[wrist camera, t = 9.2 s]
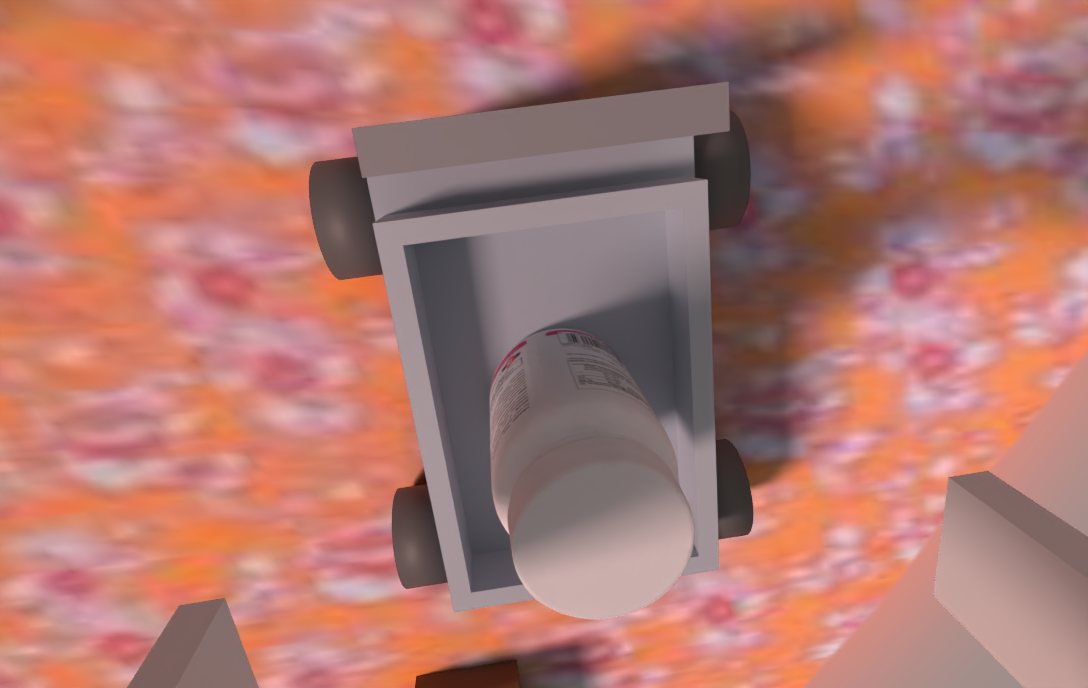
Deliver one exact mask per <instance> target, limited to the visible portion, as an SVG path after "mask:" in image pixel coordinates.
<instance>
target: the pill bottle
mask: <svg viewBox="0 0 1088 688" xmlns="http://www.w3.org/2000/svg"><path fill="white" fill-rule="evenodd" d="M490 450H491V486H492V494H493V500H494V504H495V508H496V512H497V515H498V517H499V519H500V521H501V523H502V525H503V526H504V528H505V530H506V531H507V532H508V534H509V536H510V542H511V551H512V557H513V562H514V566H515V569H516V572H517V574H518V576H519V578H520V580H521V582H522V583H523V585H524V586H525V588H526V589H527V590H528V591H529V593H530V594H531V595H532V596H533V597H534V598H535V599H536V600H537V601H539V602H540V603H542V604H543V605H545V606H547V607H548V608H550V609H552V610H554V611H557V612H559V613H562V614H565V615H568V616H573V617H577V618H584V619H608V618H615V617H619V616H623V615H627V614H629V613H632V612H635V611H638V610H640V609H642V608H644V607H646V606H648V605H650V604H651V603H653V602H655V601H656V600H657V599H659V598H660V597H661V596H663V595H664V594H665V593H666V592H667V591H668V590H669V589H670V588H671V587H672V586H673V585H674V584H675V583H676V582H677V580H678V579H679V578H680V576H681V575H682V573H683V571H684V570H685V568H686V566H687V564H688V562H689V560H690V557H691V554H692V551H693V546H694V539H695V526H694V520H693V515H692V511H691V508H690V506H689V503H688V501H687V499H686V497H685V495H684V493H683V491H682V489H681V487H680V485H679V483H678V466H677V459H676V455H675V451H674V449H673V446H672V444H671V442H670V439H669V437H668V435H667V433H666V431H665V430H664V428H663V426H662V425H661V423H660V422H659V420H658V418H657V417H656V415H655V414H654V412H653V410H652V409H651V407H650V405H649V404H648V402H647V401H646V399H645V397H644V396H643V394H642V393H641V391H640V389H639V388H638V386H637V384H636V383H635V381H634V380H633V378H632V377H631V375H630V373H629V372H628V370H627V369H626V367H625V365H624V364H623V362H622V360H621V359H620V358H619V357H618V355H617V354H616V353H615V352H614V351H613V350H612V349H611V348H610V347H609V346H608V345H607V344H606V343H605V342H603V341H602V340H600V339H599V338H597V337H595V336H593V335H591V334H589V333H587V332H584V331H580V330H576V329H567V328H559V329H550V330H546V331H542V332H538V333H536V334H533V335H531V336H529V337H527V338H525V339H523V340H522V341H520V342H519V343H517V344H516V345H515V346H514V347H513V348H512V349H511V350H510V351H509V352H508V353H507V354H506V355H505V357H504V358H503V359H502V361H501V362H500V364H499V366H498V367H497V369H496V371H495V374H494V377H493V380H492V384H491V389H490Z"/></svg>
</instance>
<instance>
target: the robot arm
mask: <svg viewBox="0 0 1088 688" xmlns="http://www.w3.org/2000/svg"><path fill="white" fill-rule="evenodd" d="M933 596H934V597H935V598H936V599H937V600H938V601H939V602H940V603H941V604H942V605H943V606H944V607H945V608H946V609H947V610H948V611H949V612H950V613H951V614H952V615H953V616H954V617H955V618H956V619H957V620H958V621H959V622H960V623H961V624H962V625H963V626H964V627H965V628H966V629H967V630H968V631H969V632H970V633H971V634H972V635H973V636H974V637H975V638H976V639H977V640H978V641H979V642H980V643H981V644H982V645H983V646H984V647H985V648H986V649H987V650H988V651H989V652H990V653H991V654H992V655H993V656H994V657H995V659H996V660H997V661H999V663H1000V664H1001V665H1003V667H1004V668H1006V670H1007V671H1008V672H1009V673H1010V674H1011V675H1012V676H1013V677H1014V678H1015V679H1016V680H1017V681H1018V682H1019V683H1020V684H1021V685H1022V686H1023V687H1024V688H1088V537H1087V536H1086V535H1084V534H1083V533H1081V532H1080V531H1078V530H1077V529H1075V528H1074V527H1072V526H1070V525H1069V524H1067V523H1066V522H1064V521H1063V520H1062V519H1060V518H1059V517H1057V516H1055V515H1054V514H1052V513H1051V512H1049V511H1048V510H1046V509H1045V508H1043V507H1042V506H1040V505H1039V504H1037V503H1035V502H1034V501H1033V500H1031V499H1030V498H1028V497H1026V496H1025V495H1023V494H1022V493H1021V492H1019V491H1018V490H1016V489H1014V488H1013V487H1012V486H1010V485H1009V484H1007V483H1005V482H1004V481H1002V480H1001V479H999V478H998V477H996V476H995V475H993V474H992V473H990V472H989V471H984V472H978V473H972V474H966V475H960V476H954V477H949V479H948V487H947V494H946V502H945V510H944V518H943V525H942V534H941V541H940V549H939V557H938V564H937V572H936V579H935V587H934V595H933ZM127 688H259V687H258V685H257V682H256V679H255V677H254V674H253V671H252V669H251V666H250V664H249V661H248V658H247V656H246V653H245V650H244V648H243V645H242V642H241V640H240V637H239V634H238V632H237V629H236V626H235V624H234V621H233V618H232V616H231V613H230V610H229V608H228V605H227V602H226V600H225V598H222V599H216V600H210V601H204V602H198V603H192V604H186V605H180V606H179V607H178V608H177V610H176V611H175V613H174V615H173V616H172V618H171V619H170V621H169V623H168V624H167V626H166V627H165V629H164V630H163V632H162V634H161V635H160V637H159V638H158V640H157V641H156V643H155V645H154V646H153V648H152V649H151V651H150V652H149V654H148V656H147V657H146V659H145V660H144V662H143V663H142V665H141V667H140V668H139V670H138V671H137V673H136V674H135V676H134V678H133V679H132V681H131V682H130V684H129V686H128V687H127Z"/></svg>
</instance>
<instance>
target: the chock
mask: <svg viewBox="0 0 1088 688" xmlns="http://www.w3.org/2000/svg"><path fill="white" fill-rule="evenodd" d="M415 688H521V684H520V678H519V672H518V666H517V661H516V660H512V661H506V662H500V663H494V664H488V665H482V666H476V667H470V668H464V669H458V670H451V671H445V672H439V673H433V674H427V675H421V676H417V677H416V684H415Z"/></svg>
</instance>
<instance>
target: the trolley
mask: <svg viewBox="0 0 1088 688" xmlns="http://www.w3.org/2000/svg"><path fill="white" fill-rule="evenodd" d="M352 132H353V137H354V141H355V146H356V151H357V156H358V157H351V158H343V159H335V160H327V161H320V162H315V163H314V164H313V165H312V167H311V171H310V176H309V197H310V207H311V213H312V219H313V224H314V228H315V232H316V236H317V240H318V243H319V246H320V249H321V252H322V255H323V257H324V259H325V262H326V264H327V266H328V268H329V269H330V271H331V272H332V274H333V275H334V276H335V277H336V278H337V279H339V280H344V279H351V278H359V277H366V276H373V275H381V274H383V276H384V281H385V286H386V290H387V295H388V300H389V305H390V309H391V314H392V319H393V324H394V328H395V333H396V338H397V343H398V347H399V352H400V357H401V362H402V367H403V371H404V376H405V381H406V386H407V390H408V395H409V400H410V405H411V409H412V414H413V419H414V424H415V428H416V433H417V438H418V443H419V447H420V452H421V457H422V462H423V466H424V471H425V476H426V481H427V484H424V485H417V486H411V487H404V488H399V489H397V491H396V493H395V496H394V500H393V508H392V538H393V549H394V556H395V562H396V567H397V571H398V575H399V578H400V581H401V583H402V585H403V586H404V588H406V589H410V588H416V587H422V586H429V585H435V584H441V583H448V585H449V590H450V595H451V599H452V604H453V609H454V612H459V611H465V610H471V609H478V608H484V607H490V606H496V605H503V604H509V603H515V602H521V601H527V600H534V599H535V598H534V597H533V596H532V595H531V594H530V593H529V591H528V590H527V589H526V588H525V586H524V585H523V583H522V582H521V580H520V578H519V576H518V574H517V572H516V569H515V566H514V562H513V557H512V551H511V542H510V536H509V534H508V532H507V531H506V530H505V528H504V526H503V525H502V523H501V521H500V519H499V517H498V515H497V512H496V508H495V504H494V500H493V494H492V486H491V450H490V389H491V384H492V380H493V377H494V374H495V371H496V369H497V367H498V366H499V364H500V362H501V361H502V359H503V358H504V357H505V355H506V354H507V353H508V352H509V351H510V350H511V349H512V348H513V347H514V346H515V345H516V344H517V343H519V342H520V341H522V340H523V339H525V338H527V337H529V336H531V335H533V334H536V333H538V332H542V331H546V330H550V329H559V328H567V329H576V330H580V331H584V332H587V333H589V334H591V335H593V336H595V337H597V338H599V339H600V340H602V341H603V342H605V343H606V344H607V345H608V346H609V347H610V348H611V349H612V350H613V351H614V352H615V353H616V354H617V355H618V357H619V358H620V359H621V360H622V362H623V364H624V365H625V367H626V369H627V370H628V372H629V373H630V375H631V377H632V378H633V380H634V381H635V383H636V384H637V386H638V388H639V389H640V391H641V393H642V394H643V396H644V397H645V399H646V401H647V402H648V404H649V405H650V407H651V409H652V410H653V412H654V414H655V415H656V417H657V418H658V420H659V422H660V423H661V425H662V426H663V428H664V430H665V431H666V433H667V435H668V437H669V439H670V442H671V444H672V446H673V449H674V451H675V455H676V459H677V466H678V483H679V485H680V487H681V489H682V491H683V493H684V495H685V497H686V499H687V501H688V503H689V506H690V508H691V511H692V515H693V520H694V526H695V539H694V546H693V551H692V554H691V557H690V560H689V562H688V564H687V566H686V568H685V570H684V571H683V573H682V575H681V576H683V575H689V574H695V573H701V572H707V571H714V570H719V542H718V539H725V538H731V537H737V536H744V535H748V534H749V533H750V531H751V528H752V524H753V503H752V495H751V490H750V485H749V481H748V477H747V474H746V471H745V468H744V465H743V462H742V460H741V458H740V456H739V454H738V452H737V450H736V449H735V447H734V446H733V444H732V443H731V442H730V441H728V440H726V439H722V440H715V410H714V377H713V344H712V311H711V277H710V244H709V230H714V229H721V228H729V227H734V226H736V225H737V224H738V223H739V222H740V221H741V219H742V217H743V215H744V213H745V210H746V207H747V203H748V198H749V191H750V176H751V171H750V155H749V148H748V143H747V139H746V135H745V132H744V129H743V126H742V124H741V122H740V120H739V119H738V117H737V116H736V115H735V114H734V113H733V112H732V111H730V110H729V82H721V83H713V84H705V85H697V86H689V87H681V88H673V89H665V90H657V91H649V92H641V93H633V94H624V95H616V96H608V97H600V98H592V99H584V100H576V101H568V102H560V103H552V104H544V105H536V106H528V107H520V108H512V109H504V110H496V111H488V112H479V113H471V114H463V115H455V116H447V117H439V118H431V119H423V120H415V121H407V122H399V123H391V124H383V125H375V126H367V127H359V128H352Z"/></svg>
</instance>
